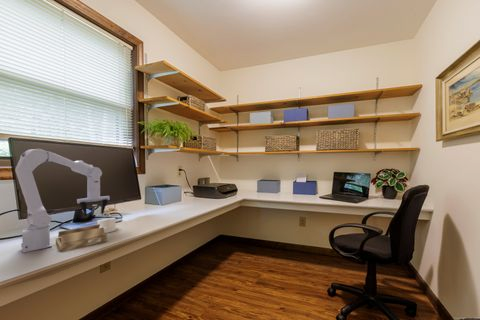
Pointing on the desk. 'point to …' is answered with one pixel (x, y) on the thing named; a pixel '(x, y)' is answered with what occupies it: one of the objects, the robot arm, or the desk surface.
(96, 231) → the flap near
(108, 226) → the bracket
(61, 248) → the carton
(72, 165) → the robot arm
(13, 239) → the desk surface
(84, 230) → the flap far
